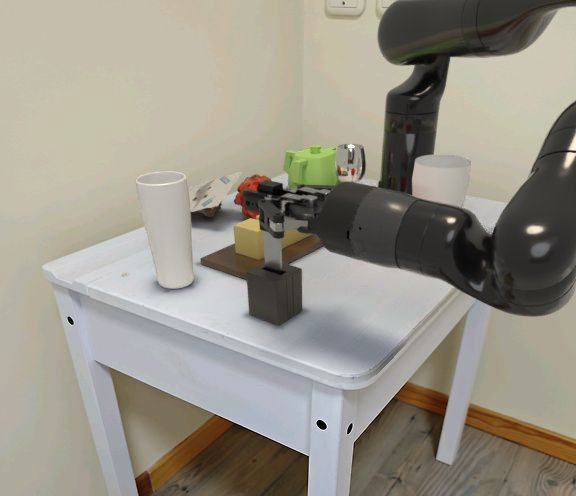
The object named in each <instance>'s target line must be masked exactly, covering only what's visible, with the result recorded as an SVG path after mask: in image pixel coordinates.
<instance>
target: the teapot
mask: <svg viewBox="0 0 576 496" xmlns="http://www.w3.org/2000/svg"><path fill="white" fill-rule="evenodd" d="M336 151H337V147H333V146H329V147H328V146H327V148H322V145H321V144H314V143H313V144H311V145H309V148H304V149H302V150H299V151H298V150H291V149H289V150H286V151H285V153H284V154H285V155H284V162H283V172H284V173H286V174H287V175H288V176H287V177H288V178H287V187H291V188H295V189H297V186H298V185H301V184H304V185H338V184H339V183H342V182H340V181H339V180H338V179H337V178H336V176H335V174H334V160H335V155H336Z"/></svg>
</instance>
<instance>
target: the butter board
mask: <svg viewBox="0 0 576 496" xmlns="http://www.w3.org/2000/svg"><path fill="white" fill-rule="evenodd" d="M322 247H324V246H323V244H322V242H321V240H320V239H319V237H318V236H317V235H316V234H315V235H310V236H308V237H306V238H304V239H302V240H300V241H298V242H296V243H294V244H291V245H289V246H287V247H285V248H283V249H282V263H285V264H288V265H290V264H291V263H293V262H295V261H296V260H297V261H298V260H299V259H300V258H302V257H305V256H306V255H309V254H310V253H312V252H314V251H317V250H318V249H320V248H322ZM264 263H265V258H262V259H260V260H257V259H254V258H251V257H248V256H244V255H241V254H238V253H236V251H235V242H234V243H232V244H229V245H227V246H225V247H223V248H221V249H218V250H215V251H213V252H212V253H209V254H207V255H204V256H202V257H200V264H201V265H202V266H205V267H208V268H210V269H211V268H212V269H213V270H214V269H215V270H217V271H220V272H223V273H226V274H229V275H231V276H235V277H238V278H241V279H243V280H246V281H247V275H246V272H248V271H250V270H252V269H254V268H256V267H258V266H260V265H262V264H264Z"/></svg>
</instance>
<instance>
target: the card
mask: <svg viewBox="0 0 576 496" xmlns="http://www.w3.org/2000/svg"><path fill="white" fill-rule="evenodd" d="M243 172H244V170H242V171H239V172H236V173H231V174H228V175H223V176H218V177H214V178H211V179H208V180H206V181H203V182H200V183H197V184H194V185H191V186H190V185H188V190H189V198H190V208H191V213H199V214H202V215H204V216H205V217H207V218H212V217H214V216H215V214H216V213H217V211H219V210H221V208H222V207H221V206H223V203H222V201H223V200H224V199H225V197H226V196H227V195H228V194H229V192H230V190H231V189H232V187H233V186H234V185H235V183H236V182H237V181H238V179H239V178H240V176H241V175H242V174H243Z"/></svg>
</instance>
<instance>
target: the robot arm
mask: <svg viewBox="0 0 576 496" xmlns="http://www.w3.org/2000/svg"><path fill="white" fill-rule="evenodd" d="M567 8H576V0H395V1H393V2H392V3H391V4H390V5H389V6H388V7H387V8H386V9H385V10H384V12H383V14H382V15H381V18H380V20H379V22H378V27H377V33H376V38H377V39H376V41H377V46H378V49H379V52H380V53H381V55H382V57H383V58H384V60H386V61H387V62H388V63H389V64H391V65H392V66H393V65H394V66H398V67H407V66H413V70H412V72H411V74H410V75H409V77H407V78H406V80H404V81H403V82H402V83H400V84H399V85H397V86H395V87H393V88H392V89H390V90H389V91H388V92H387V93H386V96H385V102H384V104H385V105H384V115H383V116H384V117H383V132H382V133H383V134H382V148H381V161H380V162H381V163H380V176H379V177H380V179H379V180H378V182H377V186H375V185H370V184H364V183H359V182H357V183H355V182H349V181H345V182H342V183H339V184H338V185H304V184H301V185H298V186H297V189H295V188H291V187H288V186H286V187H283V196H277V195H272V194H267V193H263V192H259V191H258V186H257V188H256V191H255V190H251V189H248V190H245V191H243V205H244V208H245V209H247V210H251V211H255V212H259V223H260V224H261V225H262V226H263V227H264V228H265V229H266V230H267V231H268V232H269V233H270V235H271V236H272V237H273V238H276V239H281V238H284V233H285V230H291V229H296V230H297V231H298V232H300V233H304V234H309V235H315V234H316V235H317V236H318V237H319V239H320V240H321V242H322V244H323V246H322V247H324V248H325V249H326V250H327V251H328V252H329V253H333V254H337V255H339V256H343V257H347V258H349V259H354V260H357V261H360V262H364V263H367V264H371V265H375V266H378V267H382V268H387V269H396V270H400V271H401V270H402V271H404V272H409V273H412V274H416V275H419V276H423V277H426V278H431V279H436V280H440V281H442V282H444V283H446V284H448V285H450V286H451V287H453V288H455V289H456V290H458V291H459V292H461V293H463V294H465V295H467V296H469V297H471V298H473V299H475V300H477V301H479V302H481V303H483V304H485V305H487V306H489V307H491V308H494V309H495V310H498V311H501V312H504V313H507V314H510V315H512V316H518V317H527V318H529V317H530V318H534V317H536V318H537V317H543V316H548V315H551V314H554V313H556V312H558V311H560V310H561V309H562V308H564V307H565V306H566V305H567V304H568V303H569V302H570V301H571V300H572V298H573V296H574V295H575V291H576V99H575V100H573V101H572V102H571V103H569V104H568V105H567V106H566V107H564V109H563V110H562V111H561V112H560V114H559V115H557V117H556V119H555V120H554V121H553V123H552V124H551V126H550V127H549V129H548V131H547V133H546V134H545V136H544V139H543V141H542V143H541V146H540V148H539V150H538V153H537V155H536V157H535V158H534V161H533V164H532V166H531V168H530V171H529V174H528V176H527V179H526V180H525V181H524V182H523V183H522V184H521V185H520V187H519V188H518V189H517V191H516V192H515V193H514V195H513V196H512V197H511V199H510V200H509V201H508V203H507V204H506V205H505V207H504V208H503V210H502V211H501V213H500V215H499V217H498V218H497V220H496V222H495V225H494V227H493V230H492V233H490V232H488V230H486V229H485V228H484V226H483V224H481V222H480V220H479V218H478V217H477V216H476V215H475V214H474V213H473V211H471V210H469V209H467V208H466V207H463V206H462V207H459V206H455V205H451V204H446V203H441V202H436V201H431V200H426V199H421V198H418V197H415V196H412V176H413V170H414V164H415V159H416V158H418V157H421V156H425V155H435V149H436V140H437V131H438V122H439V114H440V107H441V101H442V99H443V96H444V95H445V91H446V87H447V81H448V74H449V69H450V63H451V58H457V59H458V58H459V59H460V58H462V59H488V58H498V57H507V56H513V55H516V54H519V53H521V52H524V51H525V50H527V49H528V48H529V47H531V46H532V45H533V44H535V42H536V41H537V40H538V39H539V38H540V37H541V36H542V35H543V33H544V32H545V31H546V29H547V28H548V26H549V25H550V24H551V22H552V21H553V19H554V18H555V16H556V15H557V13H558V12H559V10H562V9H567ZM276 204H279V206H280V210H279V209H278V208H277V207H276Z"/></svg>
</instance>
